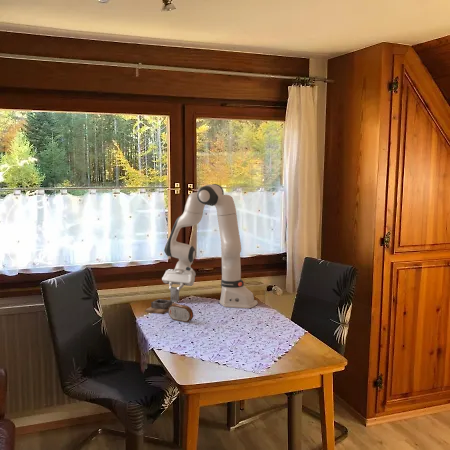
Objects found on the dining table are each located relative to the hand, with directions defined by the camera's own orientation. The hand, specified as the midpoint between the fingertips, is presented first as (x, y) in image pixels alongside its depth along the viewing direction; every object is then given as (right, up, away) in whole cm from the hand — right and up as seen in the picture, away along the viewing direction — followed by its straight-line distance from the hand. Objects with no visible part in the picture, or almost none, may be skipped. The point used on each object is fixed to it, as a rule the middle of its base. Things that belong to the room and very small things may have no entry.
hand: (174, 289), depth 290 cm
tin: (+7, -12, -33) cm, 36 cm away
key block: (0, -7, +2) cm, 7 cm away
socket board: (-6, -9, -12) cm, 16 cm away
